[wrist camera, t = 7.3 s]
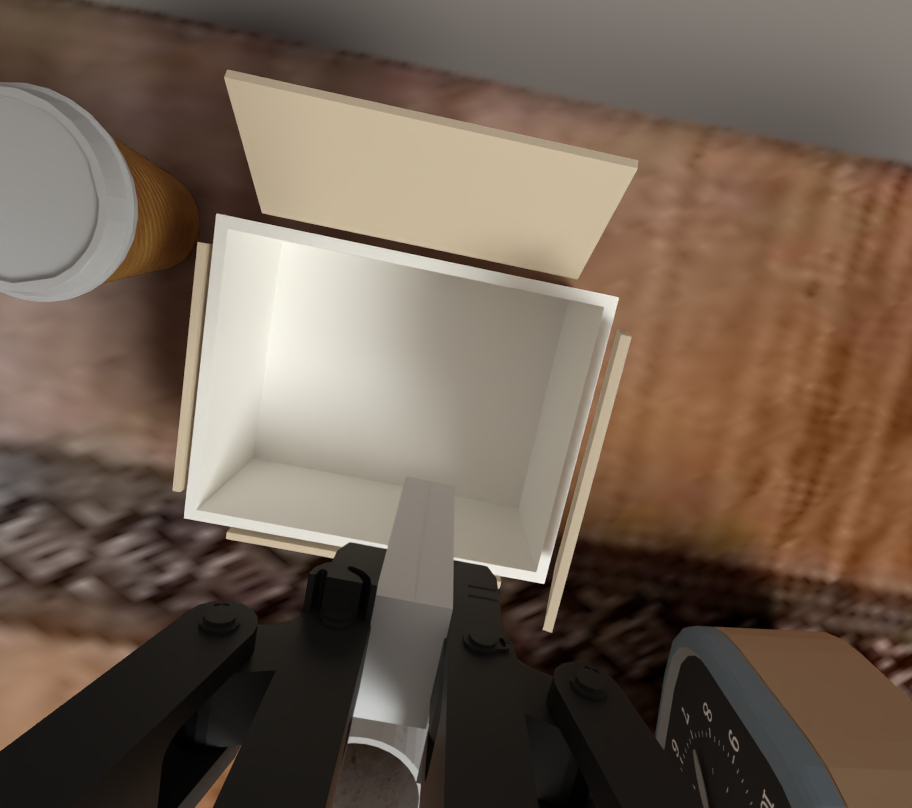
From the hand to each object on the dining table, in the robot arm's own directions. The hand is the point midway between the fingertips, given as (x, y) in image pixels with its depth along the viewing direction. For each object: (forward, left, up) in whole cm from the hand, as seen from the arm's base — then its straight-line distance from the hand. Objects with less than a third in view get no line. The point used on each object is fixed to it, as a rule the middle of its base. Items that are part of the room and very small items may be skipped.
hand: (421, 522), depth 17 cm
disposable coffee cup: (-20, +7, -22) cm, 31 cm away
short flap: (+7, 0, -9) cm, 11 cm away
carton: (-2, 0, -22) cm, 22 cm away
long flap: (-2, +10, -9) cm, 14 cm away
